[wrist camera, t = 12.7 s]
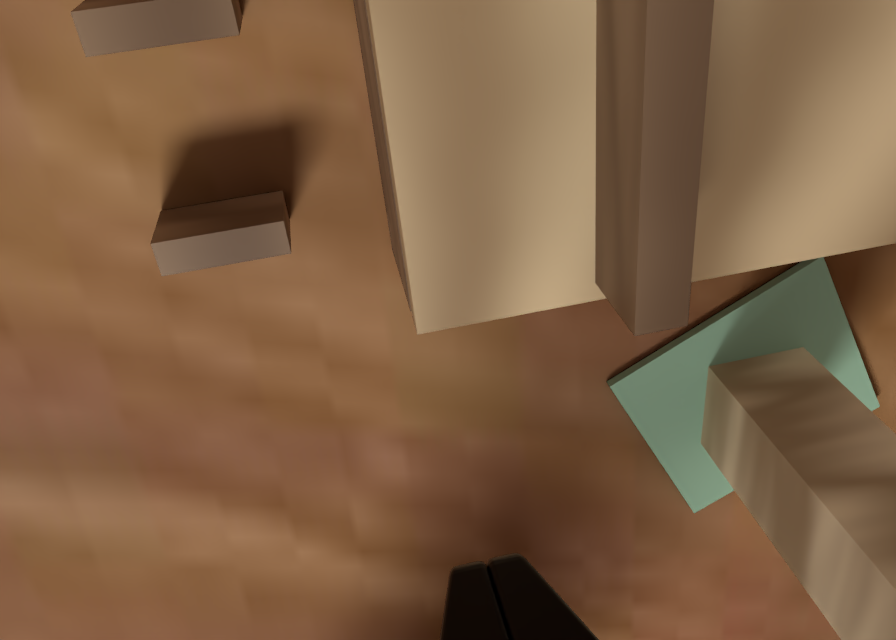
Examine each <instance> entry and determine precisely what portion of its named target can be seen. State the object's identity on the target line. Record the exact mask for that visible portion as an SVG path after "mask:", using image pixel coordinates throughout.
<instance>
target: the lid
mask: <svg viewBox="0 0 896 640" xmlns="http://www.w3.org/2000/svg"><path fill="white" fill-rule="evenodd" d="M365 2H366V9H367V15H368V22H369V29H370V35H371V42H372V49H373V56H374V62H375V69H376V76H377V83H378V89H379V96H380V103H381V110H382V116H383V123H384V130H385V136H386V143H387V150H388V157H389V163H390V170H391V177H392V184H393V190H394V197H395V204H396V211H397V217H398V224H399V231H400V238H401V244H402V251H403V258H404V264H405V271H406V278H407V285H408V291H409V298H410V305H411V312H412V318H413V321H414V325H415V328H416V331H417V335H418V334H423V333H428V332H433V331H439V330H444V329H449V328H454V327H460V326H465V325H470V324H475V323H480V322H486V321H491V320H496V319H501V318H507V317H512V316H517V315H522V314H528V313H533V312H538V311H543V310H549V309H554V308H559V307H564V306H569V305H575V304H580V303H585V302H590V301H596V300H601V299H606V298H607V299H608V301H609V302H610V304H611V305H612V306H613V308H614V309H615V310H616V312H617V313H618V314H619V316H620V317H621V318H622V320H623V321H624V322H625V324H626V325H627V327H628V328H629V329H630V331H631V332H632V333H633V335H634V336H638V335H643V334H648V333H653V332H658V331H663V330H668V329H673V328H679V327H684V326H688V316H689V303H690V291H691V282H695V281H700V280H706V279H711V278H716V277H721V276H727V275H732V274H737V273H742V272H748V271H753V270H758V269H763V268H768V267H774V266H779V265H784V264H789V263H795V262H800V261H805V260H810V259H816V258H821V257H826V256H831V255H837V254H842V253H847V252H852V251H857V250H863V249H868V248H873V247H878V246H884V245H889V244H894V243H896V0H365Z"/></svg>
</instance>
